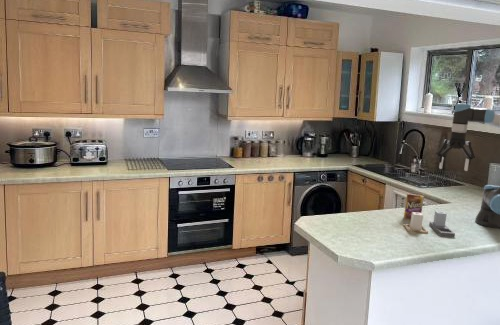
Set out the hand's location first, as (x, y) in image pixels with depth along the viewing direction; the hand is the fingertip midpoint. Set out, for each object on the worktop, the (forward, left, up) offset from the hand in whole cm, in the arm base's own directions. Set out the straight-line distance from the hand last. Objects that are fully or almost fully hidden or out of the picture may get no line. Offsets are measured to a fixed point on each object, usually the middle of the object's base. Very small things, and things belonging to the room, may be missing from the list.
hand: (453, 169), depth 233 cm
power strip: (+8, +14, -32) cm, 36 cm away
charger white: (+22, +20, -31) cm, 43 cm away
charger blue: (+8, +13, -31) cm, 34 cm away
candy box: (+18, -1, -32) cm, 37 cm away
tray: (+22, +20, -32) cm, 43 cm away
